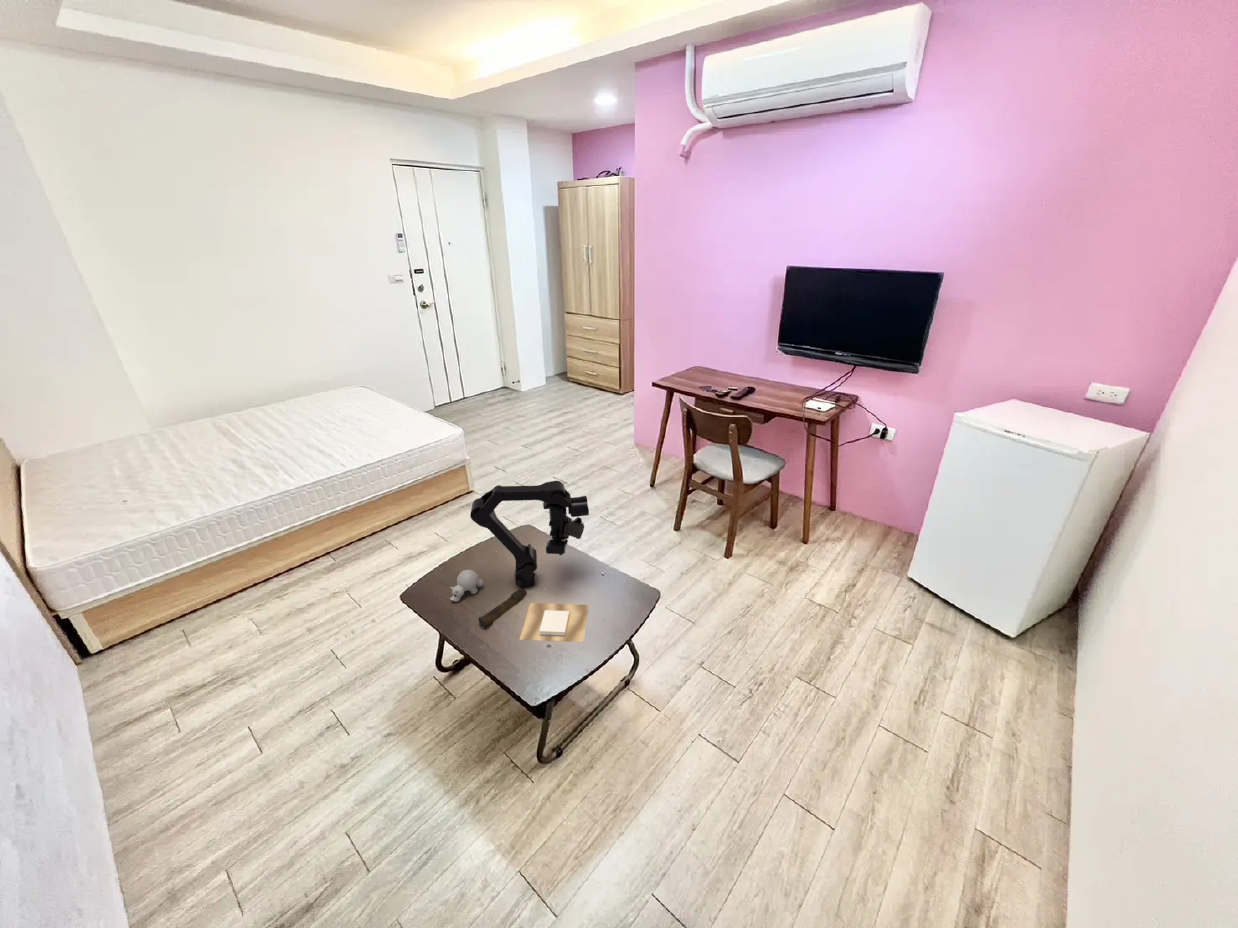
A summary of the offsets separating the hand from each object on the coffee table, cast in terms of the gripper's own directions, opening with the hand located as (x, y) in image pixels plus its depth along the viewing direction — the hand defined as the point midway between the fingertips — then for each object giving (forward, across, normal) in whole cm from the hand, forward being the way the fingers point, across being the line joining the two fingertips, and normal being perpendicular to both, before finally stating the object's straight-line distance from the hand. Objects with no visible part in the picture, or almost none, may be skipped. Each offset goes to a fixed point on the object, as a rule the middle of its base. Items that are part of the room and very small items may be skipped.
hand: (560, 554), depth 167 cm
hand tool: (+12, -16, +17) cm, 27 cm away
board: (+12, -21, -1) cm, 24 cm away
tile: (+10, -18, -1) cm, 21 cm away
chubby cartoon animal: (+12, -8, +33) cm, 36 cm away
